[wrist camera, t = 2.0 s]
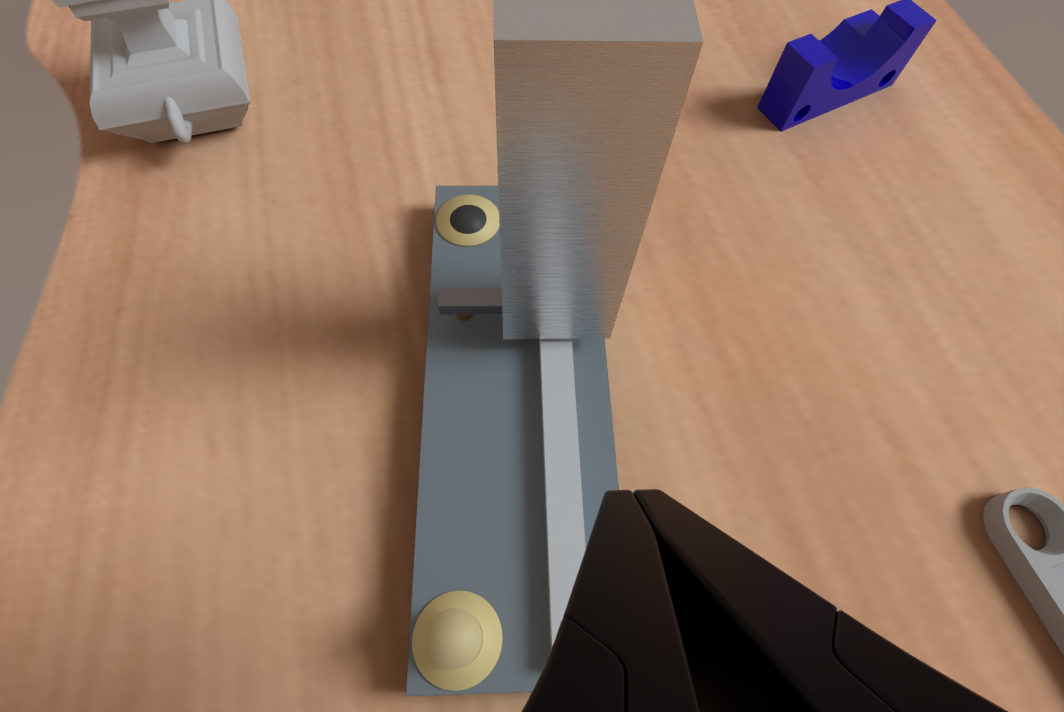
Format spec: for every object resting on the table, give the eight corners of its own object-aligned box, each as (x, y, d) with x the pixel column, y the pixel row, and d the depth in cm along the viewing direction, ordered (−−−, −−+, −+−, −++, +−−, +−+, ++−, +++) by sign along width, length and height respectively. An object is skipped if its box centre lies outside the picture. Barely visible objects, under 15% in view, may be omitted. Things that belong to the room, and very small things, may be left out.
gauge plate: (628, 685, 19) (648, 691, 16) (413, 692, 19) (396, 700, 16) (586, 207, 28) (594, 159, 25) (439, 207, 28) (431, 159, 25)
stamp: (274, 159, 29) (189, -14, 21) (131, 188, 28) (-11, 18, 20) (253, 44, 33) (175, -137, 25) (127, 66, 32) (6, -117, 24)
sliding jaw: (607, 345, 22) (703, 41, 11) (440, 347, 22) (364, 38, 11) (601, 280, 24) (680, -50, 12) (443, 281, 24) (379, -55, 12)
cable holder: (847, 51, 34) (887, -19, 30) (889, 88, 33) (936, 20, 29) (739, 93, 32) (767, 24, 29) (779, 134, 31) (814, 67, 27)
